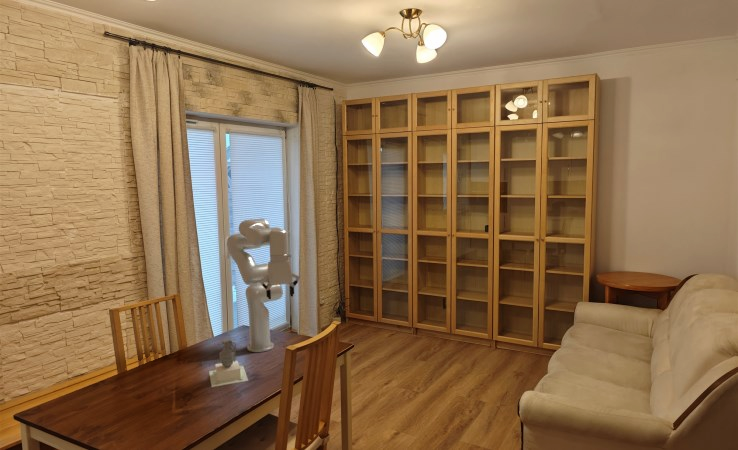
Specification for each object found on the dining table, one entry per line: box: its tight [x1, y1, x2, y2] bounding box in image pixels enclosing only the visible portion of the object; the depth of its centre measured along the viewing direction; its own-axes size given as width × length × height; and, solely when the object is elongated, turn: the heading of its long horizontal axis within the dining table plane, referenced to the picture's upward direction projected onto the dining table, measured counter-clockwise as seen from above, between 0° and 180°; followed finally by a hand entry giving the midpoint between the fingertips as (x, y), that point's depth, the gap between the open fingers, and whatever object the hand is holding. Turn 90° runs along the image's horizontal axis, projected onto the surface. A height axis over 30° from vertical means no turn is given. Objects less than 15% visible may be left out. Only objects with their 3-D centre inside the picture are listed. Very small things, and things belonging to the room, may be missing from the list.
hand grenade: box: [218, 338, 237, 367], centre depth 194 cm, size 6×6×11 cm
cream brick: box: [214, 360, 241, 382], centre depth 195 cm, size 9×9×4 cm
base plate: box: [208, 365, 249, 388], centre depth 195 cm, size 16×14×2 cm
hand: (280, 297), depth 206 cm, fingers open, 9 cm apart
